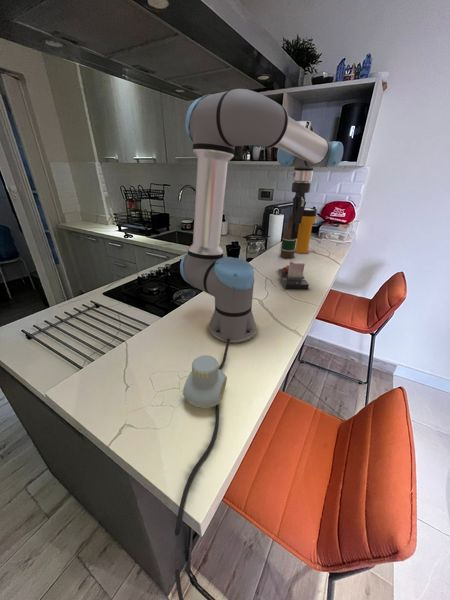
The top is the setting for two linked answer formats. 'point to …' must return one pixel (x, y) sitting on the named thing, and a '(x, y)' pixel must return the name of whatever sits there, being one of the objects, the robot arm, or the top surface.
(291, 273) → the white upright panel
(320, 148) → the robot arm
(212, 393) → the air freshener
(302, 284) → the control panel
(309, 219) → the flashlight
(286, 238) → the beer bottle
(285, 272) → the button block
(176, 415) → the top surface
